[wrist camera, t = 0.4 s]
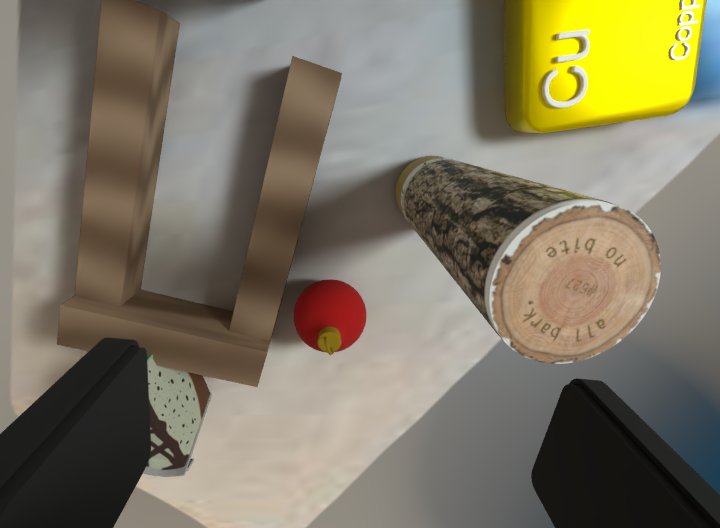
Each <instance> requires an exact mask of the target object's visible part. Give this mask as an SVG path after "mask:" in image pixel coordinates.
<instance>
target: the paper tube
mask: <svg viewBox="0 0 720 528" xmlns="http://www.w3.org/2000/svg"><path fill="white" fill-rule="evenodd" d="M395 196H396V202H397V205H398V208H399V210H400V211H401V213H402V214H403V215H404V217H405V218H406V219H407V221H408V222H409V223H410V225H411V226H412V227H413V228H414V230H415V231H416V232H417V233H418V235H419V236H420V237H421V238H422V240H423V241H424V242H425V244H426V245H427V246H428V247H429V249H430V250H431V251H432V252H433V254H434V255H435V256H436V257H437V259H438V260H439V261H440V262H441V264H442V265H443V266H444V267H445V269H446V270H447V271H448V272H449V274H450V275H451V276H452V277H453V279H454V280H455V281H456V282H457V284H458V285H459V286H460V288H461V289H462V290H463V291H464V293H465V294H466V295H467V296H468V298H469V299H470V300H471V301H472V303H473V304H474V305H475V306H476V308H477V309H478V310H479V311H480V313H481V314H482V315H483V316H484V318H485V319H486V320H487V321H488V323H489V324H490V325H491V327H492V328H493V329H494V330H495V332H496V333H497V334H498V335H499V336H500V337H501V339H503V340H504V341H505V343H506V344H507V345H508V346H510V347H511V348H512V349H513V350H514V351H516V352H517V353H519V354H521V355H522V356H524V357H527V358H530V359H532V360H535V361H539V362H544V363H554V364H561V363H572V362H577V361H581V360H584V359H587V358H591V357H593V356H596V355H598V354H600V353H602V352H604V351H606V350H608V349H609V348H611V347H612V346H614V345H615V344H617V343H618V342H620V341H621V340H622V339H623V338H625V337H626V336H627V335H628V334H629V333H630V332H631V331H632V330H633V329H634V328H635V327H636V326H637V324H638V323H639V322H640V321H641V320H642V318H643V317H644V315H645V314H646V312H647V311H648V309H649V307H650V305H651V303H652V301H653V299H654V297H655V294H656V291H657V288H658V284H659V279H660V271H661V260H660V253H659V248H658V245H657V242H656V240H655V238H654V236H653V234H652V232H651V230H650V229H649V227H648V226H647V225H646V224H645V223H644V222H643V221H642V220H641V219H640V218H639V217H638V216H637V215H635V214H634V213H632V212H631V211H629V210H627V209H625V208H623V207H620V206H617V205H615V204H612V203H609V202H606V201H602V200H599V199H595V198H591V197H588V196H584V195H580V194H577V193H573V192H569V191H566V190H562V189H558V188H555V187H551V186H547V185H544V184H540V183H536V182H533V181H529V180H525V179H521V178H518V177H514V176H510V175H507V174H503V173H499V172H496V171H492V170H488V169H485V168H481V167H477V166H474V165H470V164H466V163H463V162H459V161H455V160H451V159H447V158H443V157H439V156H425V157H422V158H419V159H417V160H415V161H413V162H411V163H410V164H409V165H408V166H407V167H406V168H405V169H404V170H403V171H402V173H401V174H400V176H399V178H398V181H397V184H396V190H395Z"/></svg>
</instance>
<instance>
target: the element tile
mask: <svg viewBox="0 0 720 528" xmlns="http://www.w3.org/2000/svg"><path fill="white" fill-rule="evenodd" d="M706 2H707V0H504V15H505V113H506V118H507V121H508V123H509V125H510V126H511V127H512V128H513V129H514V130H516V131H519V132H524V133H549V132H556V131H563V130H570V129H577V128H584V127H591V126H599V125H606V124H613V123H620V122H627V121H634V120H641V119H648V118H655V117H662V116H667V115H671V114H674V113H675V112H677V111H679V110H681V109H682V108H683V107H684V106H685V105H686V104H687V103H688V102H689V100H690V98H691V96H692V94H693V90H694V87H695V81H696V74H697V67H698V60H699V53H700V45H701V38H702V31H703V24H704V17H705V10H706Z"/></svg>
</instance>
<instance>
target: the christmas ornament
mask: <svg viewBox="0 0 720 528" xmlns="http://www.w3.org/2000/svg"><path fill="white" fill-rule="evenodd" d="M365 323H366V309H365V304H364V302H363V300H362V298H361V296H360V295H359V293H358V292H357V291H356V290H355V289H354V288H353V287H351V286H350V285H348V284H347V283H344V282H342V281H339V280H322V281H319V282H316V283H314V284H312V285H311V286H309V287H308V288H307V289H305V290H304V291H303V293H302V294H301V295H300V297H299V298H298V300H297V302H296V305H295V309H294V324H295V327H296V330H297V332H298V334H299V336H300V337H301V339H302V340H303V341H304V342H305V343H306V344H307V345H309V346H310V347H312V348H313V349H316V350H318V351H322V352H327V353H329V354H330V355H332V354H333V353H334V352H338V351H341V350H344V349H346V348H348V347H349V346H351V345H352V344H353V343H355V342H356V340H357V339H358V338H359V337H360V335H361V334H362V332H363V329H364V327H365Z"/></svg>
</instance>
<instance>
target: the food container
mask: <svg viewBox="0 0 720 528" xmlns="http://www.w3.org/2000/svg"><path fill="white" fill-rule="evenodd" d="M152 357H153V355H149V356H147V365H148V388H149V410H150V432H151V453H150V458H149V461H148V464H147V466H146V468H145V470H144V472H143V473H144V474H148V475H154V476H163V477H172V476H182V475H185V472H186V471H188V470H189V468H190V466H191V465H192V463H193V461H194V459H190V458H191V455H192V452H193V449H194V446H195V443H196V440H197V437H198V434H199V431H200V428H201V425H202V422H203V419H204V416H205V414H206V411H207V408H208V405H209V402H210V399H211V396H212V394H211V393H210V392H209V389H208V387H207V385H206V383H205V380H204V378H203V376H202V375H198V374H194V373H189V372H184V371H180V370H175V369H170V368H165V367H161V366H156V364H155V362H154V360H153V358H152Z"/></svg>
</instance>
